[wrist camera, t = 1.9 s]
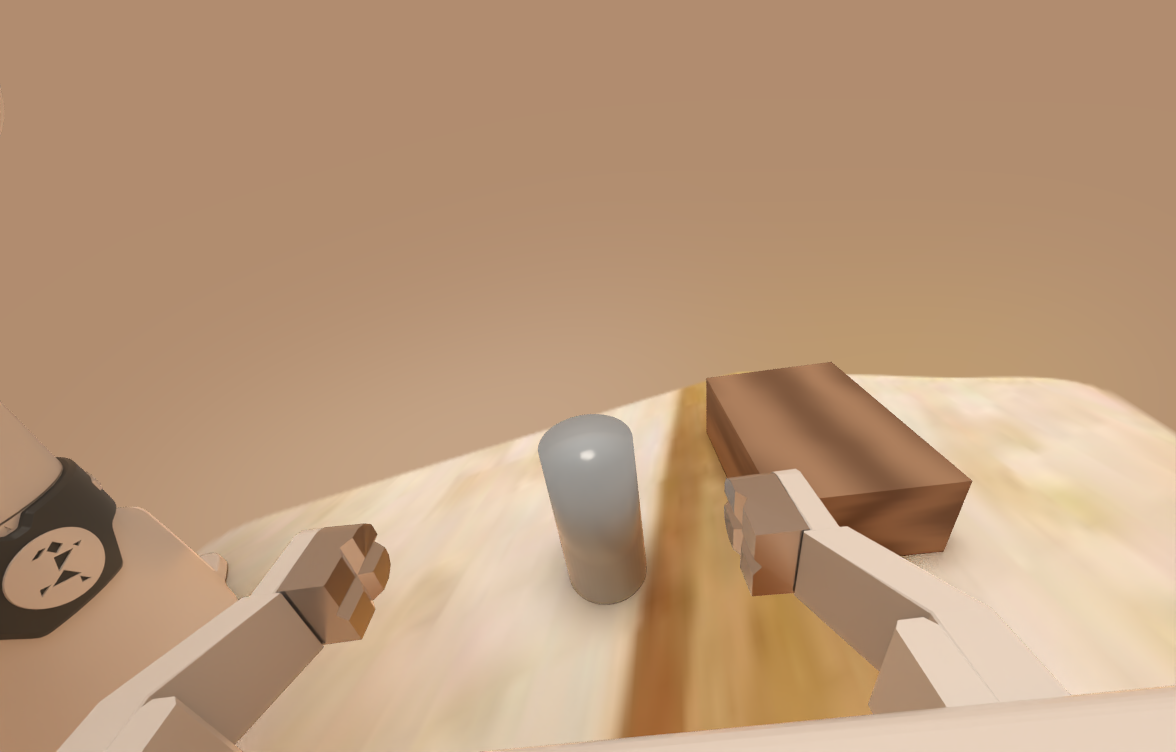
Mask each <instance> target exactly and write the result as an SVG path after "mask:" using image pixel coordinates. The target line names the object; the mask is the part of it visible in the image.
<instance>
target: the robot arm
mask: <svg viewBox="0 0 1176 752" xmlns="http://www.w3.org/2000/svg"><path fill="white" fill-rule="evenodd" d="M3 123H4V102H3V97H2V91H1V86H0V136H1V133H2V128H3ZM100 485H101V484H100V482H99V481H98V480H96V478H95V477H94V476H92V475H91V474H89V473H88V472H85V471H84V470H83V469H82V468H80V467H79V466H78V465H77V464H76V463H75V462H74V461H72V460H71V459H68V458H61V457H55V456H54V455H53V454H52V453H51V452H50V451H49V450H48V449H47V448H46V447H45V446H44V445H43V444H42V443H41V442H40V441H39V440H38V439H37V438H36V437H35V436H34V435H33V434H32V432H31V431H30V430H29V429H28V428H27V427H25V425H24V424H23V423H22V422H21V421H20V420H19V419H18V418H17V417H16V416H15V415H14V414H13V413H12V412H11V411H10V410H9V409H8V408H7V407H6V406H5V405H4V404H3V403H2V402H1V401H0V752H243V751H241V750H240V749H239V748H238V747H237V746H235V744H236V743H237V741H238V740H239V739H240V738H241V737H242V736H243V735H244V734H245V733H246V732H247V731H248V729H249V728H250V727H251V726H252V725H253V724H254V723H255V722H256V721H257V720H258V718H259V717H260V716H261V715H262V714H263V713H264V712H265V711H266V710H267V709H268V708H269V706H270V705H271V704H272V703H273V702H274V701H275V700H276V699H277V698H278V697H279V696H280V694H281V693H282V692H283V691H284V690H285V689H286V688H287V687H288V686H289V685H290V683H291V682H292V681H293V680H294V679H295V678H296V677H297V676H298V675H299V674H300V673H301V671H302V670H303V669H304V668H305V667H306V666H307V665H308V664H309V663H310V662H311V661H312V659H313V658H314V657H315V656H316V655H317V654H318V653H319V652H320V651H321V650H322V648H323V647H324V646H323V645H326V644H333V643H340V642H347V641H354V640H361V639H362V638H363V636H364V633H365V631H366V629H367V627H368V624H369V622H370V620H371V618H372V616H373V613H374V611H375V606H374V602H373V600H374V599H375V598H376V597H377V596H378V595H379V594H380V593H381V592H382V591H383V590H384V588H385V586H386V584H387V581H388V579H389V573H390V565H391V564H390V559H389V554H388V552H387V551H386V549H385V547H383V546H382V545H380V544H378V543H376V542H375V539H376V537H377V533H376V531H375V530H374V528H373V526H372V525H371V524H355V525H345V526H335V527H325V528H319V529H309V530H303V531H301V532H299V533H298V534H296V535H295V536H294V538H293V539H292V540H291V542H290V543H289V544H288V546H287V547H286V548H285V550H284V551H283V552H282V554H281V555H280V556H279V558H278V559H277V560H276V562H275V563H274V564H273V566H272V567H271V568H270V570H269V571H268V572H267V574H266V575H265V576H264V578H263V579H262V580H261V582H260V583H259V584H258V586H257V587H256V588H255V590H254V591H253V592H252V594H251V595H250V596H247V597H242V598H241V599H240V600H237V598H236V596H235V594H234V593H233V592H232V591H231V590H230V589H229V588H228V586H227V585H226V582H225V578H226V572H227V562H226V560H225V559H223V558H222V557H221V556H220V555H219V554H217V553H209V554H205V555H201V556H199V555H198V554H196V553H195V552H194V551H193V550H191V548H189V547H188V546H187V545H186V544H185V543H184V542H183V541H182V540H180V539H179V538H178V537H177V536H176V535H175V534H174V533H172V532H171V531H170V530H169V529H168V528H167V527H165V526H164V525H163V524H162V523H161V522H160V521H158V520H157V519H156V518H155V517H153V516H152V515H151V514H150V513H149V512H148V511H146V510H145V509H142V508H140V507H120V508H116V504H115V502H114V501H113V499H112V498H111V497H110V496H109V495H108V494H107V493H106V492H105V491H104V490H103V488H102V487H101V486H100ZM725 494H726V496H727V498H728V502H727V504H726V505H725V506H724V514H725V523H726V529H727V533H728V536H729V540H730V542H731V545H732V548H733V550H735V551H736V552H737V553H739V554H740V555H741V561H740V568H741V570H742V573H743V575H744V578H745V580H746V583H747V585H748V588H749V590H750V593H751V595H752V596H762V595H774V594H786V593H794V595H795V596H796V597H797V598H798V599H799V600H800V601H801V602H802V603H804V604H805V605H806V606H807V607H808V608H809V609H810V610H811V611H813V612H814V613H815V614H816V615H817V616H818V617H819V618H820V619H821V620H823V621H824V622H825V623H826V624H827V625H828V626H829V627H830V628H832V629H833V630H834V631H835V632H836V633H837V634H838V635H839V636H840V637H842V638H843V639H844V640H845V641H846V642H847V643H848V644H849V645H850V646H852V647H853V648H854V649H855V650H856V651H857V652H858V653H859V654H861V655H862V656H863V657H864V658H865V659H866V660H867V661H868V662H869V663H871V664H872V665H873V666H874V667H875V668H876V669H877V670H878V671H880V672H879V675H878V678H877V681H876V684H875V686H874V689H873V692H872V695H871V698H870V701H869V703H868V705H869V707H870V709H871V711H872V713H873V714H872V715H861V716H851V717H840V718H830V719H819V720H809V721H798V722H788V723H777V724H767V725H756V726H745V727H735V728H724V729H714V730H703V731H693V732H682V733H672V734H661V735H651V736H640V737H629V738H619V739H608V740H598V741H587V742H577V743H566V744H556V745H545V746H534V747H524V748H513V749H503V750H492V751H482V752H1176V686H1165V687H1155V688H1144V689H1134V690H1123V691H1113V692H1102V693H1092V694H1081V695H1071V694H1070V693H1069V692H1068V691H1067V690H1066V689H1065V688H1064V687H1063V686H1062V684H1061V683H1060V682H1059V681H1058V680H1057V679H1056V678H1055V677H1054V676H1053V675H1052V673H1051V672H1050V671H1049V670H1048V669H1047V668H1046V667H1045V666H1044V665H1043V664H1042V662H1041V661H1040V660H1039V659H1038V658H1037V657H1036V656H1035V655H1034V654H1033V653H1032V651H1031V650H1030V649H1029V648H1028V647H1027V646H1026V645H1025V644H1024V643H1023V642H1022V640H1021V639H1020V638H1019V637H1018V636H1017V635H1016V634H1015V633H1014V632H1013V631H1012V629H1011V628H1010V627H1009V626H1008V625H1007V624H1006V623H1005V622H1004V621H1003V620H1002V619H1001V617H1000V616H999V615H998V614H997V613H996V612H995V611H994V610H993V609H992V608H991V607H989V606H987V605H986V604H984V603H982V602H980V601H979V600H977V599H975V598H973V597H971V596H970V595H968V594H966V593H964V592H963V591H961V590H959V589H957V588H956V587H954V586H952V585H950V584H948V583H947V582H945V581H943V580H941V579H940V578H938V577H936V576H934V575H933V574H931V573H929V572H927V571H925V570H924V569H922V568H920V567H918V566H917V565H915V564H913V563H911V562H910V561H908V560H906V559H904V558H903V557H901V556H899V555H897V554H895V553H894V552H892V551H890V550H888V549H887V548H885V547H883V546H881V545H880V544H878V543H876V542H874V541H872V540H871V539H869V538H867V537H865V536H864V535H862V534H860V533H858V532H857V531H855V530H853V529H851V528H850V527H848V526H844V527H839V525H838V524H837V523H836V521H835V520H834V518H833V517H832V515H831V514H830V513H829V511H828V510H827V508H826V507H825V506H824V504H823V503H822V501H821V500H820V499H819V497H818V496H817V494H816V493H815V492H814V490H813V489H812V487H811V486H810V485H809V483H808V482H807V480H806V479H805V478H804V476H803V475H802V473H801V472H800V471H799V470H797V469H790V470H782V471H775V472H772V473H771V472H768V473H761V474H753V475H746V476H739V477H731V478H726V481H725Z"/></svg>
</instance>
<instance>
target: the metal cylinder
mask: <svg viewBox="0 0 1176 752" xmlns="http://www.w3.org/2000/svg"><path fill="white" fill-rule="evenodd" d="M538 453H539V457H540V461H541V465H542V469H543V473H544V477H545V481H546V485H547V489H548V493H549V497H550V501H551V505H552V509H553V513H554V517H555V521H556V525H557V529H558V533H559V537H560V541H561V545H562V549H563V553H564V557H565V561H566V565H567V569H568V573H569V577H570V581H571V584H572V586H573V588H574V589H575V590H576V592H577V593H578V594H579V595H580V596H581V597H583V598H584V599H586V600H588V601H590V602H593V603H597V604H614V603H618V602H621V601H624V600H626V599H627V598H629V597H631V596H632V595H633V594H634V593H635V592H636V591H637V590H638V589H639V588H640V586H641V585H642V583H643V581H644V579H645V575H646V568H647V567H646V557H645V547H644V538H643V529H642V520H641V511H640V502H639V492H638V483H637V474H636V465H635V456H634V446H633V437H632V433H631V431H630V429H629V427H628V426H627V425H626V424H625V423H624V422H622V421H620V420H619V419H617V418H614V417H611V416H607V415H600V414H588V415H580V416H576V417H572V418H569V419H566V420H564V421H562V422H560V423H558V424H556V425H555V426H553V427H552V428H550V429H549V430H548V431H547V432H546V433H545V434H544V436H543V437H542V439H541V440H540V443H539V446H538Z"/></svg>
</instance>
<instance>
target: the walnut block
mask: <svg viewBox="0 0 1176 752" xmlns="http://www.w3.org/2000/svg"><path fill="white" fill-rule="evenodd" d="M706 383H707V434H708V436H709V438H710V440H711V443H712V445H713V447H714V449H715V451H716V454H717V456H718V458H719V460H720V462H721V465H722V467H723V469H724V471H725V474H726V476H727V478H731V477H739V476H746V475H753V474H761V473H768V472H771V473H772V472H775V471H782V470H790V469H797V470H799V471H800V472H801V473H802V475H803V476H804V478H805V479H806V480H807V482H808V483H809V485H810V486H811V487H812V489H813V490H814V492H815V493H816V494H817V496H818V497H819V499H820V500H821V501H822V503H823V504H824V506H825V507H826V508H827V510H828V511H829V513H830V514H831V515H832V517H833V518H834V520H835V521H836V523H837V524H838V525H839V527H844V526H848V527H850V528H851V529H853V530H855V531H857V532H858V533H860V534H862V535H864V536H865V537H867V538H869V539H871V540H872V541H874V542H876V543H878V544H880V545H881V546H883V547H885V548H887V549H888V550H890V551H892V552H894V553H895V554H897V555H899V556H903V555H912V554H921V553H931V552H940V551H944V549H945V546H946V544H947V542H948V539H949V537H950V534H951V532H952V529H953V527H954V525H955V522H956V520H957V517H958V515H959V512H960V510H961V507H962V505H963V503H964V500H965V498H966V495H967V493H968V490H969V488H970V485H971V483H972V480H971V479H969V478H968V477H967V476H966V475H965V474H964V473H962V472H961V471H960V470H959V469H958V468H956V467H955V466H954V465H953V464H952V463H951V462H949V461H948V460H947V459H946V458H945V457H943V456H942V455H941V454H940V453H939V452H937V451H936V450H935V449H934V448H933V447H932V446H930V445H929V444H928V443H927V442H926V441H924V440H923V439H922V438H921V437H920V436H918V435H917V434H916V433H915V432H914V431H913V430H911V429H910V428H909V427H908V426H907V425H905V424H904V423H903V422H902V421H901V420H899V419H898V418H897V417H896V416H895V415H894V414H892V413H891V412H890V411H889V410H888V409H886V408H885V407H884V406H883V405H882V404H881V403H879V402H878V401H877V400H876V399H875V398H873V397H872V396H871V395H870V394H869V393H867V392H866V391H865V390H864V389H863V388H862V387H860V386H859V385H858V384H857V383H856V382H854V381H853V380H852V379H851V378H850V377H848V376H847V375H846V374H845V373H844V372H843V371H841V370H840V369H839V368H838V367H837V366H835V365H834V364H833V363H832V362H828V363H820V364H812V365H804V366H796V367H788V368H781V369H773V370H765V371H758V372H750V373H742V374H735V375H727V376H719V377H711V378H707V379H706Z"/></svg>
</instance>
